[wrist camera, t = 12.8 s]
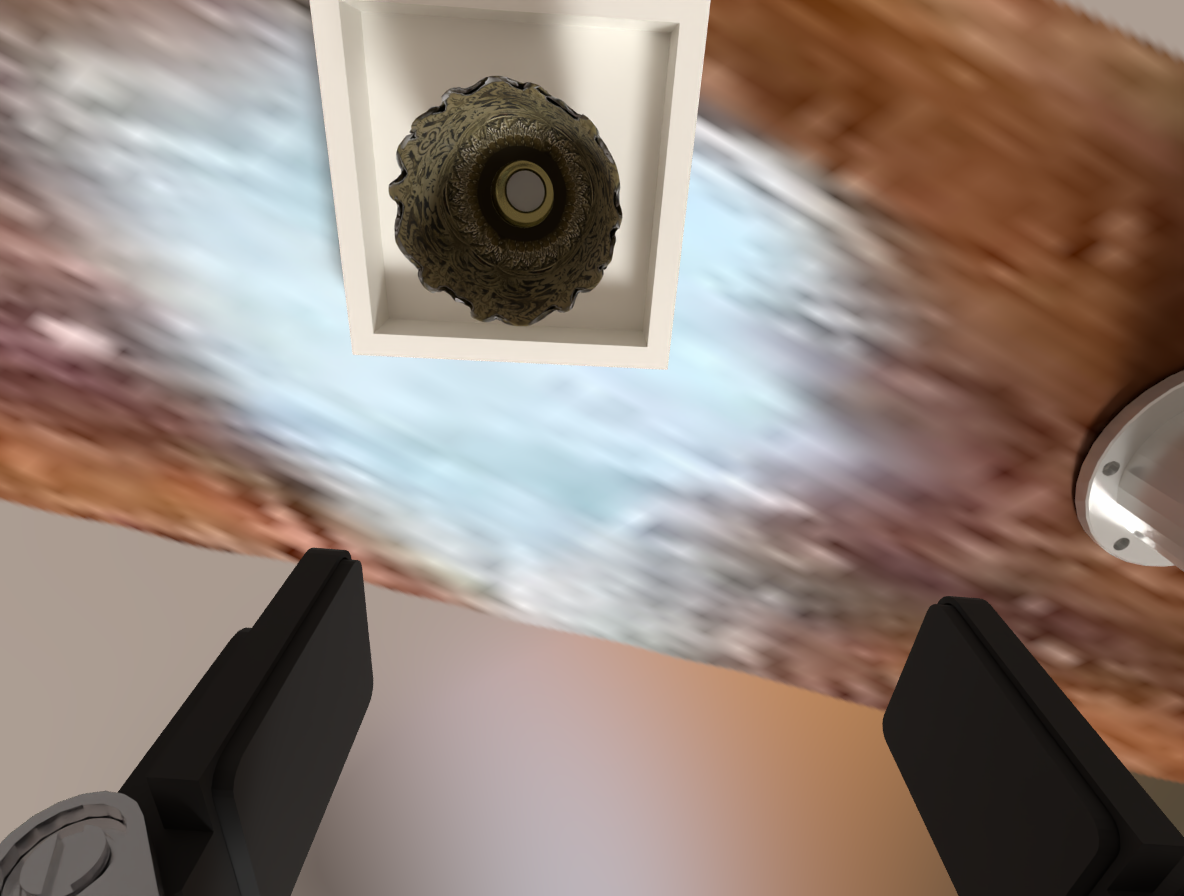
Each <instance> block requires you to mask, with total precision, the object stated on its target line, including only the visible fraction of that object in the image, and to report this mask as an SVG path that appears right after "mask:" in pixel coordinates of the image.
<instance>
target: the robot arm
mask: <svg viewBox="0 0 1184 896" xmlns="http://www.w3.org/2000/svg"><path fill="white" fill-rule="evenodd" d="M1075 505H1076V510H1077V516H1078V519H1079V521H1080V523H1081V525H1082V527H1083V529H1084V531H1085V532H1086V533H1087V534H1088V535H1089V536H1090V538H1091V539H1092V540H1093V541H1094V542H1095V543H1096V544H1098V545H1099V546H1100V547H1102V548H1103V549H1104V550H1105V551H1107V552H1108V553H1109V554H1111V555H1113V556H1115V557H1117V558H1119V559H1122V560H1124V561H1126V562H1130V563H1134V564H1139V565H1143V566H1173V565H1175V566H1177V567H1178V568H1180V569H1181V570H1182V571H1184V370H1183V371H1180V372H1178V373H1176V374H1174V375H1171V376H1169V377H1168V378H1166V379H1164V380H1163V381H1161V382H1159V383H1158V384H1156V385H1155V386H1153V387H1151V388H1150V389H1148V390H1146V391H1145V392H1144V393H1142V394H1141V395H1140V396H1139V397H1137V398H1136V399H1135V400H1133V401H1132V402H1131V403H1130V404H1128V405H1127V406H1126V407H1125V408H1124V409H1123V410H1122V411H1121V412H1120V413H1119V414H1118V415H1117V416H1116V417H1115V418H1114V419H1113V420H1112V421H1111V422H1110V423H1109V424H1108V425H1107V426H1106V427H1105V429H1104V430H1103V431H1102V433H1101V434H1100V436H1099V437H1098V438H1097V440H1096V441H1095V442H1094V444H1093V445H1092V447H1091V449H1090V451H1089V453H1088V455H1087V457H1086V458H1085V460H1084V462H1083V464H1082V467H1081V470H1080V474H1079V477H1078V480H1077V483H1076V495H1075ZM372 690H373V672H372V663H371V653H370V642H369V633H368V622H367V613H366V603H365V593H364V583H363V573H362V565H361V562H360V561H358V560H352V559H351V555H350V553H349V551H347V550H336V549H323V548H311V549H309V550H308V551H307V552H306V553H305V554H304V556H303V557H302V559H301V560H300V561H299V563H298V564H297V566H296V567H295V568H294V570H293V571H292V573H291V574H290V575H289V577H288V578H287V580H286V581H285V582H284V584H283V585H282V587H281V588H280V589H279V591H278V592H277V594H276V595H275V597H274V598H273V599H272V601H271V602H270V603H269V605H268V606H267V608H266V609H265V610H264V612H263V613H262V615H261V616H260V617H259V619H258V620H257V622H256V623H255V624H254V626H253V627H252V628H244V629H242V630H240V631H238V632H237V633H236V634H235V636H233V638H232V639H231V640H230V641H229V642H228V644H227V645H226V647H225V648H224V649H223V651H222V652H221V653H220V655H219V656H218V657H217V659H216V660H215V662H214V663H213V664H212V665H211V667H210V668H209V670H208V671H207V672H206V674H205V675H204V676H203V678H202V679H201V680H200V682H199V683H198V684H197V686H196V687H195V689H194V690H193V691H192V693H191V694H190V695H189V697H188V698H187V699H186V701H185V702H184V703H183V705H182V706H181V707H180V709H179V710H178V712H177V713H176V714H175V716H174V717H173V718H172V720H171V721H170V722H169V724H168V725H167V727H166V728H165V729H164V730H163V732H162V733H161V734H160V736H159V737H158V739H157V740H156V741H155V743H154V744H153V745H152V747H151V748H150V749H149V751H148V752H147V753H146V755H145V756H144V757H143V759H142V760H141V761H140V763H139V764H138V766H137V767H136V769H135V770H134V771H133V772H132V774H131V775H130V776H129V778H128V779H127V780H126V782H125V783H124V784H123V786H122V787H121V789H120V790H119V791H118V793H116V792H109V791H101V792H93V793H86V794H81V795H78V796H75V797H72V798H70V799H66V800H63V801H60V802H58V803H56V804H54V805H52V806H50V807H49V808H47V809H45V810H43V811H41V812H39V813H37V814H36V815H34V816H32V817H31V818H30V819H28V820H27V821H26V822H24V823H23V824H22V825H20V826H19V827H18V828H16V829H15V830H14V831H12V832H11V833H10V834H9V835H8V836H7V837H6V838H5V839H4V840H3V841H2V842H1V843H0V896H291V893H292V891H293V888H294V886H295V883H296V881H297V878H298V876H299V874H300V871H301V868H302V866H303V864H304V861H305V859H306V857H307V854H308V852H309V849H310V847H311V844H312V842H313V840H314V837H315V834H316V832H317V830H318V827H319V825H320V822H321V820H322V818H323V815H324V813H325V810H326V808H327V805H328V803H329V801H330V798H331V796H332V793H333V791H334V788H335V786H336V784H337V781H338V779H339V776H340V774H341V771H342V769H343V766H344V764H345V761H346V759H347V757H348V754H349V752H350V749H351V747H352V744H353V742H354V740H355V737H356V735H357V732H358V730H359V728H360V725H361V723H362V720H363V718H364V715H365V713H366V710H367V708H368V705H369V703H370V700H371V696H372ZM883 733H884V737H885V740H886V742H887V745H888V747H889V749H890V751H891V753H892V755H893V757H894V760H895V762H896V763H897V766H898V768H899V770H900V772H901V774H902V777H903V779H904V781H905V783H906V785H907V787H908V789H909V791H910V794H911V795H912V798H913V799H914V802H915V804H916V806H917V808H918V811H919V813H920V815H921V817H922V819H923V821H924V823H925V825H926V827H927V830H928V832H929V834H930V836H931V838H932V840H933V842H934V844H935V847H936V848H937V851H938V853H939V855H940V857H941V859H942V861H943V864H944V866H945V868H946V870H947V872H948V874H949V876H950V878H951V881H952V883H953V885H954V887H955V889H956V891H957V893H958V895H959V896H1184V837H1183V836H1182V835H1181V833H1180V832H1179V831H1178V830H1177V829H1176V827H1175V826H1174V825H1173V824H1172V823H1171V821H1170V820H1169V819H1168V818H1167V817H1166V815H1165V814H1164V813H1163V812H1162V811H1161V809H1160V808H1159V807H1158V806H1157V805H1156V803H1155V802H1154V801H1153V800H1152V799H1151V797H1150V796H1149V795H1148V794H1147V793H1146V791H1145V790H1144V789H1143V788H1142V787H1141V785H1140V784H1139V783H1138V782H1137V781H1136V779H1135V778H1134V777H1133V776H1132V774H1131V773H1130V772H1129V771H1128V770H1127V768H1126V767H1125V766H1124V765H1123V764H1122V762H1121V761H1120V760H1119V759H1118V758H1117V756H1116V755H1115V754H1114V753H1113V752H1112V750H1111V749H1110V748H1109V747H1108V746H1107V744H1106V743H1105V742H1104V741H1103V740H1102V738H1101V737H1100V736H1099V735H1098V734H1097V732H1096V731H1095V730H1094V729H1093V728H1092V726H1091V725H1090V724H1089V723H1088V722H1087V720H1086V719H1085V718H1084V717H1083V716H1082V714H1081V713H1080V712H1079V711H1078V710H1077V708H1076V707H1075V706H1074V705H1073V704H1072V702H1071V701H1070V700H1069V699H1068V698H1067V696H1066V695H1065V694H1064V693H1063V692H1062V690H1061V689H1060V688H1059V687H1058V686H1057V684H1056V683H1055V682H1054V681H1053V680H1052V678H1051V677H1050V676H1049V675H1048V674H1047V672H1046V671H1045V670H1044V669H1043V668H1042V666H1041V665H1040V664H1039V663H1038V661H1037V660H1036V659H1035V658H1034V657H1033V655H1032V654H1031V653H1030V652H1029V651H1028V649H1027V648H1026V647H1025V646H1024V645H1023V643H1022V642H1021V641H1020V640H1019V639H1018V637H1017V636H1016V635H1015V634H1014V633H1013V631H1012V630H1011V629H1010V628H1009V627H1008V625H1007V624H1006V623H1005V622H1004V621H1003V619H1002V618H1001V617H1000V616H999V615H998V613H997V612H996V611H995V610H994V609H993V607H992V606H991V605H990V604H989V603H988V602H987V601H985V600H983V599H979V598H966V597H953V596H946V597H943V598H942V599H940V600H939V602H938V604H934V605H932V606H930V607H929V609H928V611H927V613H926V616H925V618H924V620H923V623H922V625H921V628H920V630H919V632H918V635H917V637H916V640H915V642H914V644H913V647H912V649H911V652H910V654H909V656H908V659H907V661H906V664H905V666H904V668H903V671H902V673H901V676H900V678H899V680H898V683H897V685H896V688H895V690H894V692H893V695H892V697H891V700H890V702H889V705H888V707H887V709H886V712H885V714H884V718H883Z"/></svg>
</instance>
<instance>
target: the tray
mask: <svg viewBox="0 0 1184 896" xmlns="http://www.w3.org/2000/svg"><path fill="white" fill-rule="evenodd" d="M710 1H711V0H310V8H311V16H312V24H313V33H314V41H315V49H316V57H317V65H318V74H319V82H320V90H321V98H322V106H323V115H324V123H325V131H326V139H327V147H328V156H329V164H330V172H331V180H332V188H333V197H334V205H335V213H336V221H337V229H338V238H339V246H340V254H341V262H342V270H343V279H344V287H345V295H346V303H347V311H348V320H349V328H350V336H351V344H352V352H353V355H371V356H392V357H413V358H434V359H455V360H476V361H497V362H518V363H539V364H560V365H581V366H602V367H623V368H644V369H665V370H667V369H668V360H669V351H670V343H671V334H672V326H673V317H674V309H675V300H676V292H677V283H678V274H679V266H680V257H681V249H682V240H683V232H684V223H685V215H686V206H687V197H688V189H689V180H690V172H691V163H692V155H693V146H694V137H695V129H696V120H697V112H698V103H699V95H700V86H701V78H702V69H703V60H704V52H705V43H706V35H707V26H708V18H709V9H710ZM489 76H504V77H508V78H510V79H513V80H516V81H518V82H521V83H525V82H531V83H534V84H537V85H539V86H541V87H542V88H543V89H544V90H546V91H547V92H548V93H549V94H550V95H552V96H553V97H555V98H558V99H560V100H562V101H564V102H565V103H566V104H567V105H568V106H569V107H570V108H571V109H573V110H574V111H575V112H576V113H578V114H581V115H582V114H584V115H585V116H587V117H588V118H589V119H590V120H591V121H592V122H593V124H594V125H595V126H596V128H597V129H598V131H599V136H600V137H601V139H602V140H603V141H604V143H605V144H606V146H607V148H608V150H609V152H610V153H611V155H612V157H613V159H614V161H615V164H616V166H617V170H618V174H619V180H620V192H619V201H620V206H621V209H622V222H621V225H620V229H618V230H617V231H616V233H615V236H616V243H615V246H614V251H613V257H612V261H611V262H610V264H609V265H608V266H607V268H606V269H605V270H604V275H603V277H602V279H601V281H600V283H599V284H598V285H597V286H596V287H595V288H594V289H593V290H591V291H590V292H587V293H581V292H580V293H578V295H577V297H576V300H575V303H574V306H573V308H572V309H571V310H570V311H568V312H565V313H559V312H558V311H557V310H555V311H553V312H552V313H551V314H549V315H548V316H546V317H545V318H544V319H542V320H540V321H539V322H537V323H535V324H532V325H530V326H512V325H508V324H505V323H503V322H502V321H499V320H497V319H496V320H494V321H491V322H481V321H478V320H476V319H474V318H472V317H471V316H470V315H471V314H470V312H471V309H470V307H468V306H466V305H464V304H463V303H460V302H456V301H454V300H453V298H452V297H451V296H450V295H449V294H448V293H446V292H445V291H442V292H435V293H431V292H429V291H428V290H426V289H425V288H424V287H423V285H422V284H421V282H420V280H419V278H418V269H417V268H416V267H415V266H414V265H413V264H412V263H411V262H410V261H409V260H408V259H407V258H406V257H405V256H404V255H403V253H402V252H401V251H400V249H399V248H398V246H397V244H396V242H395V232H394V224H395V219H396V216H397V203H396V202H395V201H394V200H393V199H392V198H391V197H390V196H389V189H388V188H389V184H390V183H391V182H392V181H394V180H395V179H397V177H398V176H399V175H400V174H401V169H400V168H399V166H398V163H397V159H396V152H397V148H398V146H399V144H400V143H401V142H402V140H403V139H404V138H405V136H406V135H410V134H411V133H409V131H410V130H411V125H412V123H413V121H414V120H415V119H416V118H417V117H418V116H420V115H421V114H423V113H425V112H427V111H428V110H429V109H430V108H431V107H435V106H440V105H441V104H442V98H441V96H442V95H443V94H444V93H445V92H446V91H447V90H449V89H450V88H457V87H461V88H468V87H470V86H472V85H474V84H476V83H477V82H478V81H480V80H481V79H483V78H485V77H489ZM507 197H508V199H509V201H510V203H511V204H512V205H513V206H514V207H515V208H516V209H518V210H520V211H525V212H528V211H532V210H535V209H536V208H538V207H539V206H540V204H541V203H542V201H543V198H544V186H543V183H542V181H541V179H540V178H539V177H538V176H537V175H536V174H534V173H532V172H530V171H520V172H517V173H515V174H514V175H513V176H512V177H511V178H510V179H509V181H508V184H507ZM438 291H439V290H438Z"/></svg>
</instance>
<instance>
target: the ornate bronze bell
mask: <svg viewBox="0 0 1184 896" xmlns="http://www.w3.org/2000/svg"><path fill="white" fill-rule="evenodd" d="M441 98H442V104H441V105H440V106H435V107H431V108H430V109H429V110H428V111H427V112H425V113H423V114H421V115H420V116H418V117H417V118H416V119H415V120H414V121H413V123H412V125H411V130H410V131H409V133H411V134H410V135H406V136H405V138H404V139H403V140H402V142H401V143H400V144H399V146H398V148H397V152H396V159H397V163H398V166H399V168H400V169H401V174H400V175H399V176H398V177H397V179H395V180H394V181H392V182H391V183H390V184H389V188H388V189H389V196H390V197H391V198H392V199H393V200H394V201H395V202H396V203H397V216H396V219H395V224H394V232H395V242H396V244H397V246H398V248H399V249H400V251H401V252H402V253H403V255H404V256H405V257H406V258H407V259H408V260H409V261H410V262H411V263H412V264H413V265H414V266H415V267H416V268H417V269H418V278H419V280H420V282H421V284H422V285H423V287H424V288H425V289H426V290H428V291H429V292H431V293H435V292H442V291H445V292H446V293H448V294H449V295H450V296H451V297H452V298H453V300H454V301H456V302H460V303H463V304H464V305H466V306H468V307H470V309H471V312H470V314H471V315H470V316H471V317H472V318H474V319H476V320H478V321H481V322H491V321H494V320H496V319H497V320H499V321H502V322H503V323H505V324H508V325H512V326H530V325H532V324H535V323H537V322H539V321H540V320H542V319H544V318H545V317H546V316H548V315H549V314H551V313H552V312H553V311H555V310H557V311H558V312H559V313H565V312H568V311H570V310H571V309H572V308H573V306H574V303H575V300H576V297H577V295H578V293H580V292H581V293H587V292H590V291H591V290H593V289H594V288H595V287H596V286H597V285H598V284H599V283H600V281H601V279H602V277H603V275H604V270H605V269H606V268H607V266H608V265H609V264H610V262H611V261H612V257H613V251H614V246H615V243H616V236H615V233H616V231H617V230H618V229H620V225H621V222H622V209H621V206H620V201H619V192H620V180H619V174H618V170H617V166H616V164H615V161H614V159H613V157H612V155H611V153H610V152H609V150H608V148H607V146H606V144H605V143H604V141H603V140H602V139H601V137H600V136H599V131H598V129H597V128H596V126H595V125H594V124H593V122H592V121H591V120H590V119H589V118H588V117H587V116H585V115H584V114H582V115H581V114H578V113H576V112H575V111H574V110H573V109H571V108H570V107H569V106H568V105H567V104H566V103H565V102H564V101H562V100H560V99H558V98H555V97H553V96H552V95H550V94H549V93H548V92H547V91H546V90H544V89H543V88H542V87H541V86H539V85H537V84H534V83H531V82H525V83H521V82H518V81H516V80H513V79H510V78H508V77H504V76H489V77H485V78H483V79H481V80H480V81H478V82H477V83H476V84H474V85H472V86H470V87H468V88H461V87H457V88H450V89H449V90H447V91H446V92H445V93H444V94H443V95H442V96H441ZM520 171H530V172H532V173H534V174H536V175H537V176H538V177H539V178H540V179H541V181H542V183H543V186H544V198H543V201H542V203H541V204H540V206H539V207H538V208H536V209H535V210H532V211H528V212H525V211H520V210H518V209H516V208H515V207H514V206H513V205H512V204H511V203H510V201H509V199H508V197H507V184H508V181H509V179H510V178H511V177H512V176H513V175H514V174H515V173H517V172H520ZM438 290H439V291H438Z"/></svg>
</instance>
